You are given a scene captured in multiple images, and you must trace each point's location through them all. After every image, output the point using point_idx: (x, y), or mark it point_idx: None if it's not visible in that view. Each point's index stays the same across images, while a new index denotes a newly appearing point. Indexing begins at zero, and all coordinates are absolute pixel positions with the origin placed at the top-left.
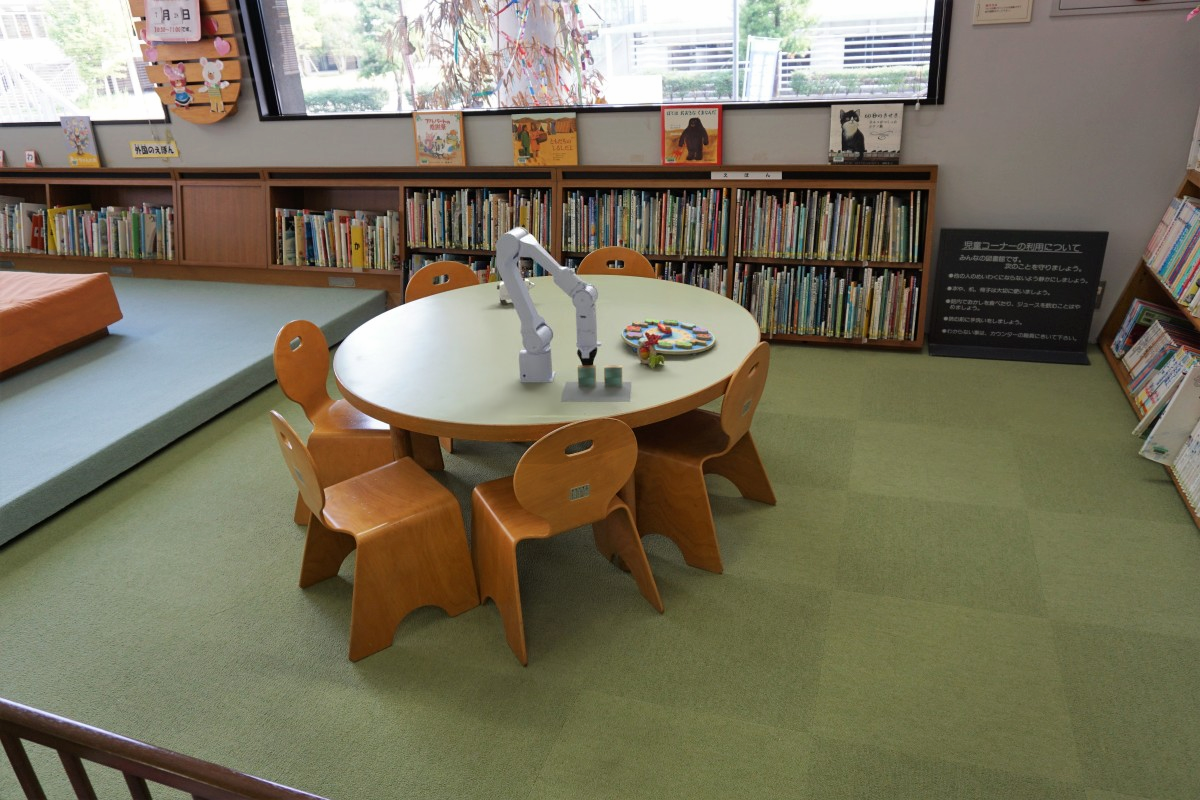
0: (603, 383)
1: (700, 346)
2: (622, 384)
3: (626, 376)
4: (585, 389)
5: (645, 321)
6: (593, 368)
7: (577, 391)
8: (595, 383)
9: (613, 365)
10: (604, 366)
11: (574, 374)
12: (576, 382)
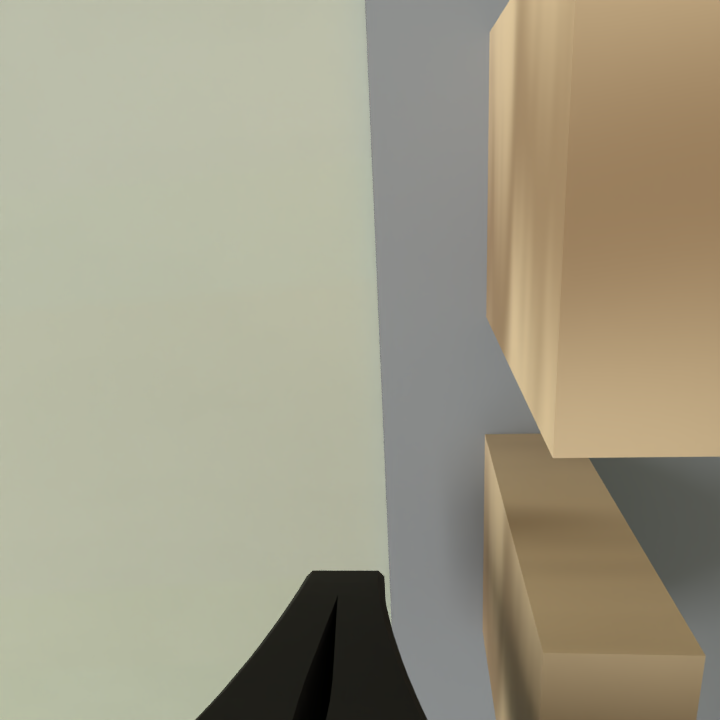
0: (440, 342)
1: None
2: (477, 31)
3: (74, 10)
4: (648, 551)
5: None
6: (693, 672)
7: (707, 633)
8: (590, 462)
9: (589, 200)
10: (658, 451)
11: (127, 680)
12: (409, 659)
